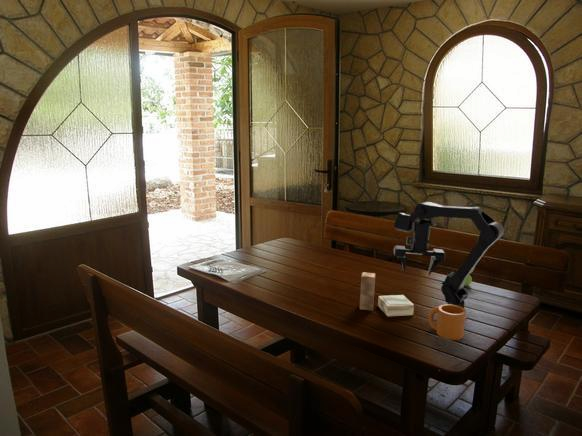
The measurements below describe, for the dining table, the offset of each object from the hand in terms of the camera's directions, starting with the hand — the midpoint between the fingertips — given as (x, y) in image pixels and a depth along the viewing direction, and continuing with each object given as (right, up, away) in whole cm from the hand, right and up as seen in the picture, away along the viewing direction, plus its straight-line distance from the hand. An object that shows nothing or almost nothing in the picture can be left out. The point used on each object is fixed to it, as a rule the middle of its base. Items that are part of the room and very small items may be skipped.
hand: (416, 274), depth 183 cm
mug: (+5, -18, -20) cm, 27 cm away
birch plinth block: (-9, -13, -3) cm, 16 cm away
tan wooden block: (-19, -13, -1) cm, 23 cm away
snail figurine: (+29, -8, +26) cm, 39 cm away
